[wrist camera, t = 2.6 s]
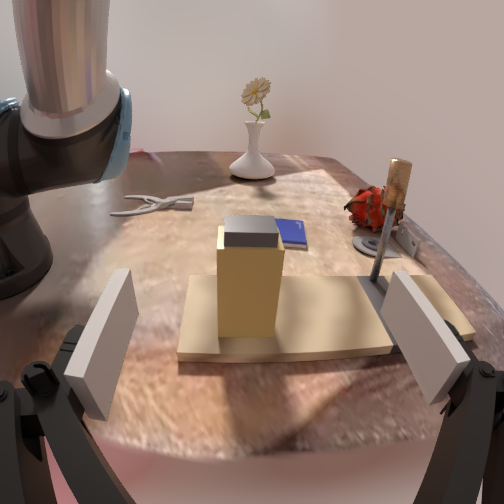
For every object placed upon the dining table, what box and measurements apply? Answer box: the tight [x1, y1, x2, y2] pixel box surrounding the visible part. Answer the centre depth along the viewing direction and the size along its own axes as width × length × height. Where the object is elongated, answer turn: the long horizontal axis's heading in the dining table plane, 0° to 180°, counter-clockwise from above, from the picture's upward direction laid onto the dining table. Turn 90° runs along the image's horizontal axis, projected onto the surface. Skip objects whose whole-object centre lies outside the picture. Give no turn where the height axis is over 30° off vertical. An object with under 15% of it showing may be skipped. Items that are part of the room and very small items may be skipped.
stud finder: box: [217, 215, 285, 338], centre depth 27 cm, size 5×4×10 cm
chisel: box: [369, 158, 412, 283], centre depth 33 cm, size 2×2×15 cm
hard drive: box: [275, 218, 307, 248], centre depth 49 cm, size 2×8×12 cm
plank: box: [177, 275, 476, 363], centre depth 32 cm, size 32×12×1 cm, turn 94°
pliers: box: [110, 195, 194, 216], centre depth 57 cm, size 10×2×15 cm
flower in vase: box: [229, 77, 275, 179], centre depth 70 cm, size 13×11×25 cm
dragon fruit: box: [344, 186, 405, 232], centre depth 52 cm, size 8×8×12 cm
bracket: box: [352, 224, 420, 258], centre depth 47 cm, size 7×10×4 cm, turn 95°
